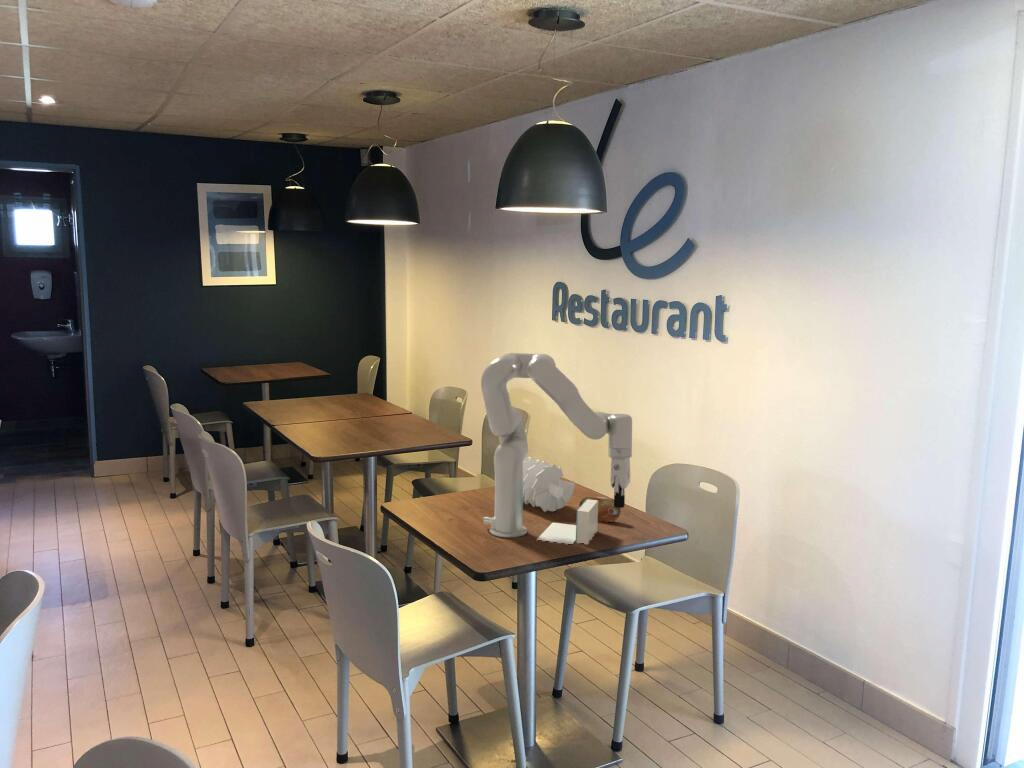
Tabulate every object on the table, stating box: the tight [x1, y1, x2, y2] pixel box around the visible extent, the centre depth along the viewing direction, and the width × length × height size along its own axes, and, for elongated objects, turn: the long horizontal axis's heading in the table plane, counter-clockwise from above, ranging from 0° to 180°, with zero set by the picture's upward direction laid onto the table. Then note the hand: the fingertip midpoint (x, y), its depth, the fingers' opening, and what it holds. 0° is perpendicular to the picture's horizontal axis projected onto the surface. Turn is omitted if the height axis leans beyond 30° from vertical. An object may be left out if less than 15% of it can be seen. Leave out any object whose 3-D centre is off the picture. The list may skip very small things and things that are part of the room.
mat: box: [536, 522, 576, 545], centre depth 273 cm, size 12×19×1 cm, turn 161°
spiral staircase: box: [523, 456, 576, 513], centre depth 303 cm, size 18×18×25 cm
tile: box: [575, 499, 599, 545], centre depth 269 cm, size 4×14×11 cm, turn 161°
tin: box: [578, 495, 622, 523], centre depth 288 cm, size 15×3×8 cm, turn 62°
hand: (619, 506), depth 265 cm, fingers closed
